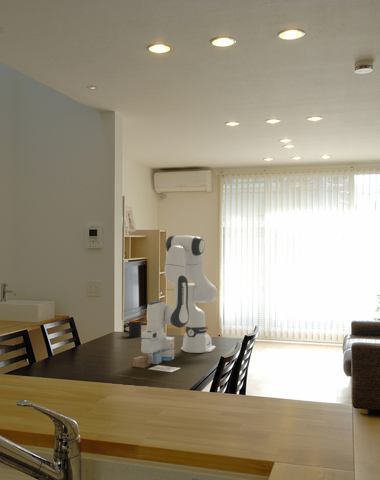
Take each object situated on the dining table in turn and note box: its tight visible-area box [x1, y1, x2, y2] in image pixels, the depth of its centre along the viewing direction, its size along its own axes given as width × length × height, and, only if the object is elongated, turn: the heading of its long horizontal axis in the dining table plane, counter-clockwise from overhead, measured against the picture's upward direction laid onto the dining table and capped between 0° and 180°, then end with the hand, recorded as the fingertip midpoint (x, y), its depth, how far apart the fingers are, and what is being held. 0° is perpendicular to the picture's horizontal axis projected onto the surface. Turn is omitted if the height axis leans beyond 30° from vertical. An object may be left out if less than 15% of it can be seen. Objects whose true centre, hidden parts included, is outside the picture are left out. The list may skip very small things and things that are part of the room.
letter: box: [148, 364, 181, 373], centre depth 233 cm, size 9×13×1 cm
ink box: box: [155, 336, 175, 362], centre depth 256 cm, size 9×8×12 cm
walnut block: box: [132, 355, 151, 368], centre depth 239 cm, size 6×6×4 cm
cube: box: [147, 352, 162, 365], centre depth 246 cm, size 5×5×5 cm
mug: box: [123, 319, 142, 338], centre depth 330 cm, size 8×12×10 cm
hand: (154, 359), depth 246 cm, fingers closed on cube, 5 cm apart
